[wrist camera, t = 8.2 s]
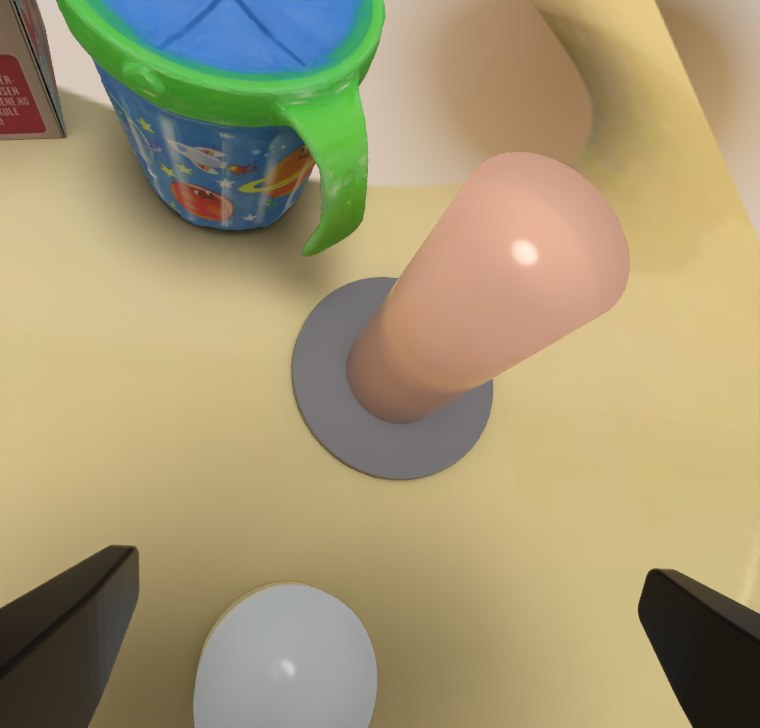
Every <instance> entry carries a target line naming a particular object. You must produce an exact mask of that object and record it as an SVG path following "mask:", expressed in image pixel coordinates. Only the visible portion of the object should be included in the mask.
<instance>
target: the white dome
mask: <svg viewBox="0 0 760 728" xmlns="http://www.w3.org/2000/svg"><path fill="white" fill-rule="evenodd" d="M377 678H378V676H377V664H376V659H375V653H374V650H373V646H372V643H371V640H370V638H369V636H368V633H367V631H366V629H365V628H364V626H363V624H362V623H361V621H360V620H359V618H358V617H357V616H356V615H355V613H354V612H353V611H352V610H351V609H350V608H349V607H348V606H347V605H345V604H344V603H343V602H341V601H340V600H339V599H337V598H336V597H334V596H332V595H330V594H328V593H326V592H324V591H322V590H320V589H318V588H316V587H313V586H311V585H308V584H305V583H301V582H295V581H279V582H272V583H268V584H264V585H262V586H259V587H257V588H254V589H252V590H251V591H249V592H247V593H245V594H244V595H242V596H241V597H239V598H238V599H237V600H235V601H234V602H233V603H232V604H231V605H230V606H229V607H228V608H227V609H226V610H225V611H224V612H223V613H222V615H221V616H220V617H219V618H218V620H217V621H216V623H215V624H214V626H213V627H212V629H211V631H210V633H209V634H208V636H207V638H206V641H205V643H204V646H203V648H202V651H201V655H200V659H199V663H198V670H197V676H196V683H195V690H194V697H193V716H194V726H195V728H368V726H369V723H370V720H371V718H372V714H373V710H374V706H375V701H376V694H377Z"/></svg>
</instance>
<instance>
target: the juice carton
mask: <svg viewBox="0 0 760 728" xmlns="http://www.w3.org/2000/svg"><path fill="white" fill-rule="evenodd" d="M43 138H66V133H65V128H64V123H63V118H62V112H61V107H60V102H59V97H58V92H57V87H56V81H55V76H54V71H53V66H52V61H51V55H50V51H49V45H48V40H47V35H46V30H45V26H44V23H43V20H42V17H41V14H40V11H39V8H38V5H37V2H36V0H0V140H13V139H43Z"/></svg>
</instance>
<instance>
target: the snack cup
mask: <svg viewBox="0 0 760 728" xmlns="http://www.w3.org/2000/svg"><path fill="white" fill-rule="evenodd" d="M56 1H57V4H58V7H59V9H60V11H61V12H62V14H63V16H64V18H65V21H66V23H67V25H68V27H69V30H70V31H71V33H72V34H73V36H74V37H75V38H76V40H77V41H78V42H79V43H80V44H81V46H82V47H83V48H84V49H85V50H86V51H87V53H88V54H89V55H90V56H91V57H92V59H93V61H94V63H95V66H96V68H97V71H98V73H99V74H100V76H101V81H102V83H103V85H104V87H105V90H106V92H107V94H108V96H109V98H110V101H111V102H112V105H113V107H114V109H115V112H116V114H117V116H118V118H119V120H120V123H121V125H122V127H123V129H124V131H125V133H126V135H127V138H128V140H129V142H130V144H131V147H132V149H133V151H134V153H135V155H136V157H137V158H138V160H139V162H140V165H141V168H142V170H143V171H144V173H145V175H146V177H147V179H148V181H149V182H150V184H151V186H152V188H153V189H154V190H155V192H156V193H157V194H158V195H159V197H160V198H161V199H162V200H163V201H164V202H166V203H167V204H168V205H169V206H170V207H171V208H173V209H174V210H175V211H177V212H178V213H179V214H180V215H181V217H182V218H183V219H185V220H187V221H189V222H191V223H193V224H194V225H196V226H207V227H213V228H218V229H224V230H246V229H254V228H258V227H268V226H270V225H271V224H272V223H274V222H275V221H277V220H279V219H280V218H281V216H282V215H283V214H284V213H285V212H286V211H287V210H289V208H290V207H291V206H292V205H293V204H294V202H295V201H296V200H297V199H298V197H299V196H300V194H301V192H302V190H303V187H304V185H305V184H306V182H307V180H308V178H309V176H310V174H311V172H312V169H313V167H314V165H315V163H316V164H317V166H318V168H319V170H320V177H321V185H320V191H321V219H320V224H319V226H318V227H317V228H316V230H315V231H314V233H313V234H312V236H311V237H310V238H309V240H308V241H307V243H306V245H305V246H304V248H303V250H302V253H303V255H304V256H306V257H308V256H312V255H315V254H317V253H320V252H322V251H323V250H325V249H327V248H329V247H331V246H332V245H334V244H336V243H338V242H339V241H341V240H343V239H344V238H346V237H347V236H349V235H350V234H351V233H352V232H354V231H355V230H356V229H357V228H358V226H359V225H360V223H361V222H362V219H363V215H364V210H365V200H366V191H367V174H368V143H367V132H366V125H365V117H364V113H363V109H362V104H361V99H360V95H359V88H358V86H359V85H360V84H361V82H362V81H363V79H364V77H365V76H366V74H367V72H368V70H369V67H370V65H371V63H372V60H373V58H374V56H375V53H376V50H377V47H378V45H379V41H380V37H381V32H382V27H383V23H384V20H385V7H384V6H385V5H384V1H383V0H56Z"/></svg>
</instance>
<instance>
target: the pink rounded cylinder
mask: <svg viewBox="0 0 760 728" xmlns="http://www.w3.org/2000/svg"><path fill="white" fill-rule="evenodd" d="M629 266H630V260H629V250H628V246H627V241H626V238H625V235H624V232H623V229H622V227H621V225H620V223H619V220H618V218H617V217H616V215H615V213H614V211H613V210H612V208H611V207H610V205H609V204H608V203H607V201H606V200H605V199H604V197H603V196H602V195H601V194H600V193H599V191H598V190H597V189H596V188H595V187H594V186H593V185H592V184H591V183H590V182H588V181H587V180H586V179H585V178H584V177H582V176H581V175H580V174H578V173H577V172H576V171H574V170H573V169H571V168H569V167H568V166H566V165H564V164H562V163H560V162H558V161H556V160H554V159H551V158H548V157H545V156H542V155H538V154H534V153H527V152H510V153H504V154H500V155H497V156H494V157H492V158H490V159H488V160H486V161H485V162H483V163H482V164H481V165H479V166H478V167H477V168H476V169H475V171H474V172H473V173H472V174H471V175H470V177H469V178H468V180H467V181H466V183H465V184H464V185H463V187H462V188H461V190H460V191H459V193H458V194H457V195H456V197H455V198H454V200H453V201H452V203H451V204H450V205H449V207H448V208H447V210H446V211H445V213H444V214H443V215H442V217H441V218H440V220H439V221H438V223H437V224H436V225H435V227H434V228H433V230H432V231H431V233H430V234H429V236H428V237H427V238H426V240H425V241H424V243H423V244H422V246H421V247H420V248H419V250H418V251H417V253H416V254H415V256H414V257H413V258H412V260H411V261H410V263H409V264H408V266H407V267H406V268H405V270H404V271H403V273H402V274H401V276H400V277H399V279H398V280H397V281H396V283H395V284H394V286H393V287H392V289H391V290H390V291H389V293H388V294H387V296H386V297H385V299H384V300H383V301H382V303H381V304H380V306H379V307H378V309H377V310H376V311H375V313H374V314H373V316H372V317H371V319H370V320H369V321H368V323H367V324H366V326H365V327H364V329H363V330H362V332H361V333H360V334H359V336H358V337H357V339H356V340H355V342H354V343H353V345H352V346H351V349H350V351H349V353H348V357H347V363H346V374H347V380H348V384H349V387H350V389H351V392H352V394H353V395H354V397H355V399H356V400H357V401H358V403H359V404H360V405H361V406H362V407H363V408H364V409H365V410H366V411H367V412H369V413H370V414H371V415H373V416H374V417H376V418H378V419H380V420H383V421H386V422H389V423H394V424H409V423H413V422H417V421H419V420H422V419H423V418H425V417H427V416H428V415H430V414H432V413H434V412H435V411H437V410H439V409H441V408H442V407H444V406H446V405H447V404H449V403H451V402H453V401H454V400H456V399H458V398H459V397H461V396H463V395H465V394H466V393H468V392H470V391H471V390H473V389H475V388H477V387H478V386H480V385H482V384H484V383H485V382H487V381H489V380H490V379H492V378H494V377H496V376H497V375H499V374H501V373H502V372H504V371H506V370H508V369H509V368H511V367H513V366H514V365H516V364H518V363H520V362H521V361H523V360H525V359H527V358H528V357H530V356H532V355H533V354H535V353H537V352H539V351H540V350H542V349H544V348H545V347H547V346H549V345H551V344H552V343H554V342H556V341H557V340H559V339H561V338H563V337H564V336H566V335H568V334H570V333H571V332H573V331H575V330H576V329H578V328H580V327H582V326H583V325H585V324H587V323H588V322H590V321H592V320H594V319H595V318H597V317H599V316H600V315H602V314H604V313H605V312H607V311H608V310H610V309H611V308H612V307H613V306H614V305H615V304H616V303H617V301H618V300H619V299H620V298H621V296H622V294H623V292H624V290H625V287H626V284H627V281H628V276H629Z"/></svg>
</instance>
